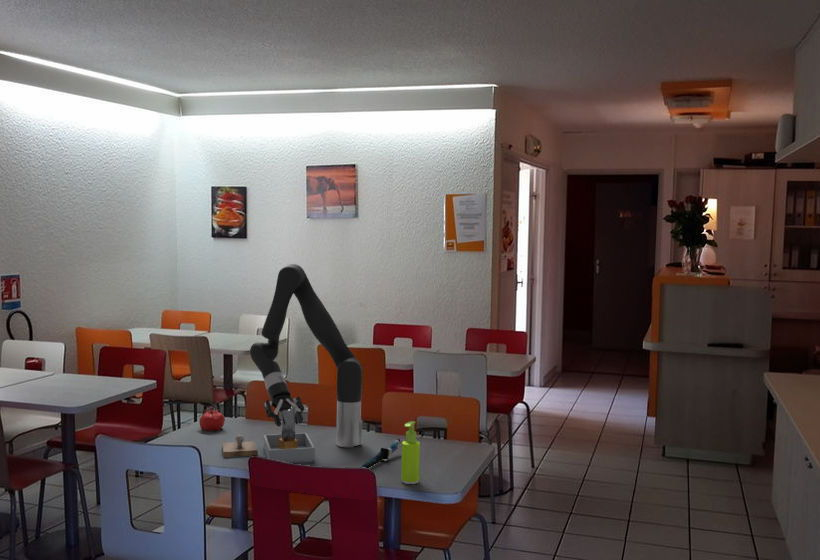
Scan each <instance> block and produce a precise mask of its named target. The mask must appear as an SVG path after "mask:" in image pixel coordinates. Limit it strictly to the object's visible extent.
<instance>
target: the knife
mask: <svg viewBox="0 0 820 560" xmlns="http://www.w3.org/2000/svg"><path fill="white" fill-rule="evenodd" d="M401 444H402V442H401V439H400V438H397V439H395V441H394V442H393V443H392V444H391V445H389V447H387V448H386V447H380V450H379V452H378V453H377V455H375V456H374V457H373V458H371V459H369V460H368V461H366V462H365V463H364V464H362V466H361V467H366V468H369V467H371V466H373V465H374V464H376V463H377V464H379V463H380V462H382V461H381V460H382V459H388V460H389V456H390V455H392V454H393V453H394V452H396V451H397V450H398V449H399V448H401V447H400V446H401ZM378 462H379V463H378ZM377 464H376V465H377ZM373 467H374V466H373Z"/></svg>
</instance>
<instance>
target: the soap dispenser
mask: <svg viewBox="0 0 820 560" xmlns="http://www.w3.org/2000/svg"><path fill="white" fill-rule="evenodd" d="M415 424H416V421H412V420H411V421H407V422H406V423H404V427H406V428H408V430H407V431H405V440H403V441H402V442H401V468H400V469H401V472H400V473H401V475H400V476H401V477H400V480H401V479H402V480H403V481H407V482H416V481H418V480H419V481H420V460H421V459H420V456H421V455H420V453H421V452H420V451H421V449H420V448H421V443H420V441H418V440H417V431H415V428H414V427H415Z"/></svg>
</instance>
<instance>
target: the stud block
mask: <svg viewBox="0 0 820 560" xmlns="http://www.w3.org/2000/svg"><path fill="white" fill-rule="evenodd" d="M244 440H245V437H244V436H243V435H241V434H238V435H236V436H235V441H234V442H222V444H221V448H222V456H223V458H229V457H228V456H241V457H253V456H252V455H258V447H257V444H256V441H255V440H254V441H244ZM258 456H259V455H258Z"/></svg>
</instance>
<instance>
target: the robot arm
mask: <svg viewBox="0 0 820 560" xmlns="http://www.w3.org/2000/svg"><path fill="white" fill-rule="evenodd" d="M277 274H278V275H277V279H276V286H275V290H274V294H273V299H272V302H271V305H270V308H269V311H268V312H267V316H266V318H265V321H264V324H263V326H262V327H263V328H262V329H261V336H262V337H264V339H267V342H259V341H256V342H255V343H253V344H252V345H251V346H250V349H249V354H250V358H251V360H252V362H253V363H254V365H256V367H257V369H258V370H259V371H260V373H261V375H262V378H263V380H264V381H263V382H264V385H265V388H266V391H267V394H268V396H269V399H270V400H269V399H266V401H265V402H264V403H263V406H264V410H265V413H266V414H265V415H266V417H267V418H272V419H273V421H274V424H275V425H276V426H277V427H281V426H282V420H281V419H280V416H279V414H278V413H279V412H281V413H282V409H285V408H293V409H295V418H296V420H297V422H298V425H300V424H302V423H303V422H304V417H303V412H305V406H304V404H303V402H302V399H301V397H300V396H296V397H295V398H293V397H292V396H291V392H290V390H289V387H288V386H289V385H288V383H287V382H286V379H285V377H284V375H283V373H282V371H281V367H280V365H279V363H278V362H277V361H275V359H277V357H278V354H279V343H280V336H281V332H282V330H283V328H284V325H285V321H286V318H287V312H288V307H289V305H290V302H291V299H292V296H295V297H296V300H297V301H298V303H299V306H300V308H301V312H302V314H303V318H304V320H305V323H306V325H307V326H308V328H309V330H310V331H311V333H312V335H313V336H314V337H315V338H316V340H317V341H318V343H320V344H321V345H322V346H323V348H324V349H325V350H326V351H327V352H328V353H329V355H330V357H331V359H332V360H333V362H334V364H335V366H336V368H337V370H336V371H337V372H336V433H335V434H336V439H335V440H336V446H338V447H341V448H355V447H354V446H357V445H361V444H362V445H363V443H362V441H363V439H362V438H363V422H362V377H363V376H362V374H363V373H362V371H363V369H362V364H361V363H360V361H359V360H358V359H357V357H356V356H355V355H354V353H353V352H352V351H351V350H350V348H349V347H348V345H347V343H346V341H344V338H343V336H342V334H341V332H340V330H339V328H338V326H337V324H336V322H335V321H334V320H333V317H332V315H331V314H330V312H329V311H328V310H327V308H326V307H325V306H324V303H323V302H322V301H321V299H320V298H319V296H318V295H317V293H316V292H315V290H314V288H313V286H312V284H311V282H310V280H309V278H308V275H307V274H306V272H305V270H304V269H303V268H302V266H300V265H299V264H297V263H290V264H288V265H285V266H283V267H282V268H281V269H280V270H279V271H278V273H277ZM272 407H273V408H274V411H273V410H272ZM357 447H358V446H357Z"/></svg>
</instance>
